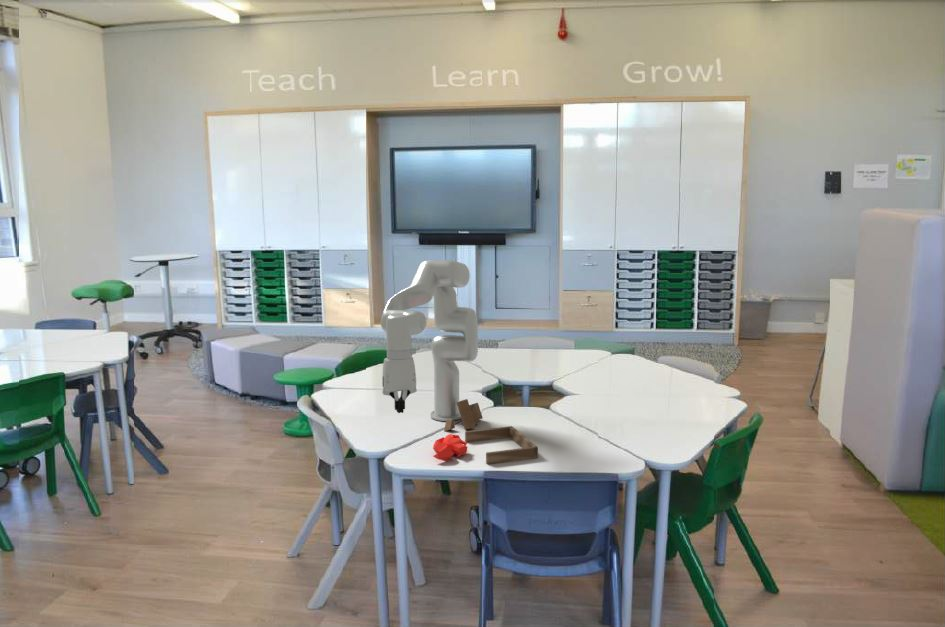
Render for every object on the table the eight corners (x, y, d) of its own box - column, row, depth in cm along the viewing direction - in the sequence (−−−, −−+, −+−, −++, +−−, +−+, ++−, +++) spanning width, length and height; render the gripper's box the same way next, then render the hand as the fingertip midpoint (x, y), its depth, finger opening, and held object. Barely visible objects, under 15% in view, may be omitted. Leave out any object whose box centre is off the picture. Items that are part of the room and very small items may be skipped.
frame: (465, 441, 239) (465, 431, 238) (511, 435, 244) (511, 426, 244) (487, 464, 218) (487, 453, 218) (537, 457, 224) (537, 447, 223)
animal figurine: (428, 464, 219) (428, 449, 218) (435, 447, 234) (435, 433, 233) (464, 465, 218) (464, 450, 217) (469, 448, 233) (469, 433, 232)
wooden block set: (474, 425, 264) (466, 399, 265) (492, 420, 259) (483, 393, 260) (445, 436, 249) (436, 408, 250) (463, 431, 244) (454, 402, 245)
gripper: (419, 350, 221) (420, 406, 224) (372, 353, 216) (373, 410, 219) (425, 355, 214) (426, 412, 217) (377, 358, 209) (378, 417, 212)
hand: (399, 411), depth 218 cm, fingers closed
